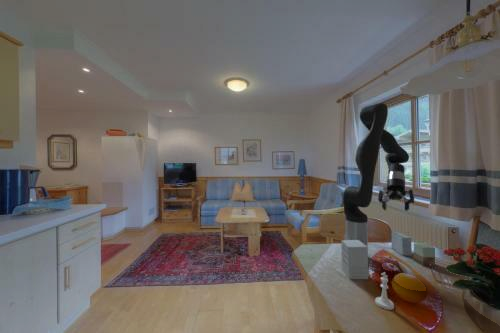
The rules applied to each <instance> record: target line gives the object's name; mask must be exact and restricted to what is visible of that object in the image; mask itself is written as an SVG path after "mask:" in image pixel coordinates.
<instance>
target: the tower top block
mask: <svg viewBox="0 0 500 333" xmlns="http://www.w3.org/2000/svg"><path fill="white" fill-rule="evenodd" d="M414 252H415V253H417V254H418V255H420V256H422V257H435V258H436V247H434V246H432V245H430V244H427V243H426V242H424V243H423V242H420V243H419V242H418V243H417V242H414V243H413V253H414Z"/></svg>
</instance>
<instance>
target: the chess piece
mask: <svg viewBox="0 0 500 333" xmlns="http://www.w3.org/2000/svg"><path fill="white" fill-rule="evenodd" d="M380 274H381V276H382V277H380V281H381V283H380V285H379V286H380V287H381V290H382V291H381V296H377V297H376V298H375V299H374V301H375V302H374V303H375V304H376V305H377V306H378V307H380V308H381V309H385V310H394V309H395V305H394V302H393V301H391V299H389V298H388V292H387V289H389V285H387V284H388V282H389V279H388V275H387V274H386V272H385V271H384V272H381V273H380Z"/></svg>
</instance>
